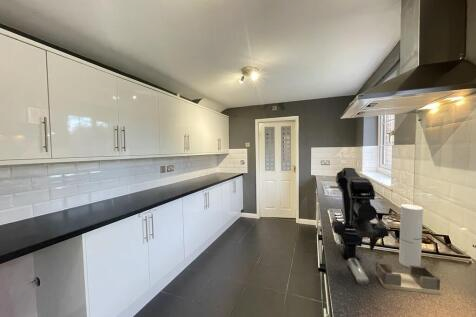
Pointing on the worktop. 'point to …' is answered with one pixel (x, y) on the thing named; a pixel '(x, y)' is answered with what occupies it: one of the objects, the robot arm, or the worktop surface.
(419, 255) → the cylindrical container
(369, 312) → the worktop surface
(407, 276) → the board
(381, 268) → the brackets
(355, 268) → the rail
